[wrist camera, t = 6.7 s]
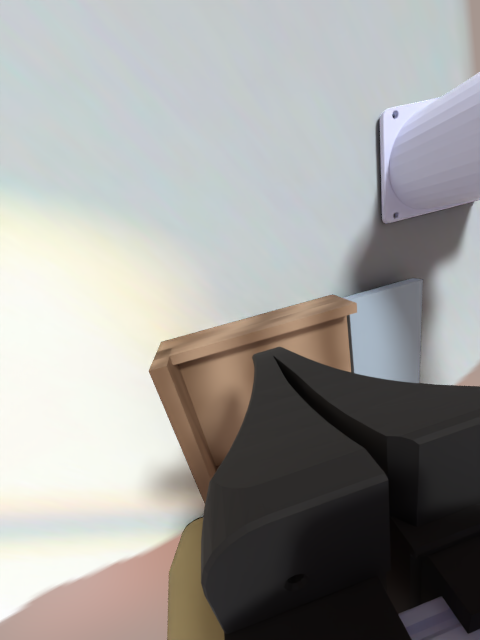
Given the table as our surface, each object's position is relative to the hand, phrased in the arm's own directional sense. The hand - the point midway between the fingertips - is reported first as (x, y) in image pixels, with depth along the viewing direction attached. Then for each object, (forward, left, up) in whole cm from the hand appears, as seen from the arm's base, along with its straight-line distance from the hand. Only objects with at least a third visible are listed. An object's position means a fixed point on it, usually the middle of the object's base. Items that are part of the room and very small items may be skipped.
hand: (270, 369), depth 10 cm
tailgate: (-9, +8, -8) cm, 15 cm away
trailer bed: (-1, +8, -10) cm, 13 cm away
